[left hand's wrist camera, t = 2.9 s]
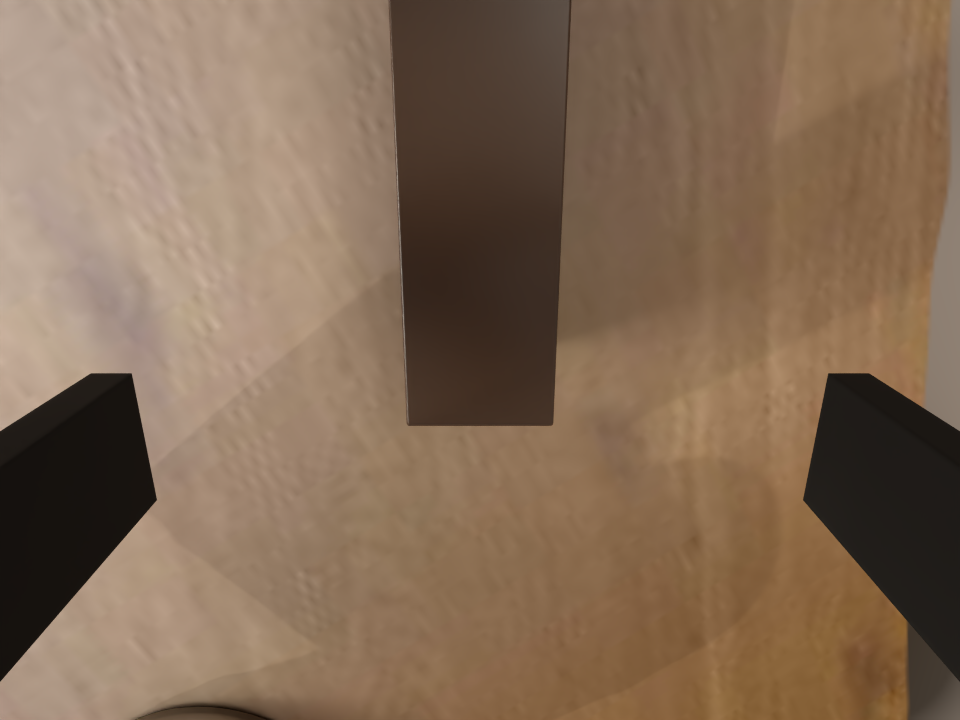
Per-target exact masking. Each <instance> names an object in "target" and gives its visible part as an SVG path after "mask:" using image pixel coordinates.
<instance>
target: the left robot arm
mask: <svg viewBox="0 0 960 720" xmlns="http://www.w3.org/2000/svg"><path fill="white" fill-rule="evenodd" d="M156 500H157V498H156V493H155V488H154V483H153V478H152V473H151V468H150V463H149V458H148V453H147V448H146V443H145V438H144V433H143V428H142V423H141V418H140V413H139V408H138V403H137V398H136V393H135V388H134V383H133V378H132V373H91V374H89V375H88V376H86V377H85V378H83V379H82V380H80V381H78V382H77V383H75V384H74V385H72V386H71V387H69V388H67V389H66V390H64V391H63V392H61V393H60V394H58V395H56V396H55V397H53V398H52V399H50V400H49V401H47V402H45V403H44V404H42V405H41V406H39V407H38V408H36V409H34V410H33V411H31V412H30V413H28V414H27V415H25V416H24V417H22V418H20V419H19V420H17V421H16V422H14V423H13V424H11V425H9V426H8V427H6V428H5V429H3V430H2V431H0V681H1V680H2V679H3V678H4V677H5V676H6V674H7V673H8V672H9V671H10V670H11V669H12V667H13V666H14V665H15V664H16V663H17V662H18V660H19V659H20V658H21V657H22V656H23V655H24V653H25V652H26V651H27V650H28V649H29V648H30V647H31V645H32V644H33V643H34V642H35V641H36V640H37V638H38V637H39V636H40V635H41V634H42V633H43V631H44V630H45V629H46V628H47V627H48V626H49V625H50V623H51V622H52V621H53V620H54V619H55V618H56V616H57V615H58V614H59V613H60V612H61V611H62V609H63V608H64V607H65V606H66V605H67V604H68V602H69V601H70V600H71V599H72V598H73V597H74V596H75V594H76V593H77V592H78V591H79V590H80V589H81V587H82V586H83V585H84V584H85V583H86V582H87V580H88V579H89V578H90V577H91V576H92V575H93V573H94V572H95V571H96V570H97V569H98V568H99V567H100V565H101V564H102V563H103V562H104V561H105V560H106V558H107V557H108V556H109V555H110V554H111V553H112V551H113V550H114V549H115V548H116V547H117V546H118V544H119V543H120V542H121V541H122V540H123V539H124V538H125V536H126V535H127V534H128V533H129V532H130V531H131V529H132V528H133V527H134V526H135V525H136V524H137V522H138V521H139V520H140V519H141V518H142V517H143V516H144V514H145V513H146V512H147V511H148V510H149V509H150V507H151V506H152V505H153V504H154V503H155V502H156ZM803 500H804V502H805V503H806V504H807V505H808V506H809V507H810V509H811V510H812V511H813V512H814V513H815V514H816V516H817V517H818V518H819V519H820V520H821V521H822V522H823V524H824V525H825V526H826V527H827V528H828V529H829V531H830V532H831V533H832V534H833V535H834V536H835V538H836V539H837V540H838V541H839V542H840V543H841V544H842V546H843V547H844V548H845V549H846V550H847V551H848V553H849V554H850V555H851V556H852V557H853V558H854V560H855V561H856V562H857V563H858V564H859V565H860V567H861V568H862V569H863V570H864V571H865V572H866V573H867V575H868V576H869V577H870V578H871V579H872V580H873V582H874V583H875V584H876V585H877V586H878V587H879V589H880V590H881V591H882V592H883V593H884V594H885V596H886V597H887V598H888V599H889V600H890V601H891V602H892V604H893V605H894V606H895V607H896V608H897V609H898V611H899V612H900V613H901V614H902V615H903V616H904V618H905V619H906V620H907V621H908V622H909V623H910V625H911V626H912V627H913V628H914V629H915V630H916V631H917V633H918V634H919V635H920V636H921V637H922V638H923V640H924V641H925V642H926V643H927V644H928V645H929V647H930V648H931V649H932V650H933V651H934V652H935V653H936V655H937V656H938V657H939V658H940V659H941V660H942V662H943V663H944V664H945V665H946V666H947V667H948V669H949V670H950V671H951V672H952V673H953V674H954V676H955V677H956V678H957V679H958V680H959V681H960V431H958V430H957V429H955V428H954V427H952V426H951V425H949V424H947V423H946V422H944V421H943V420H941V419H940V418H938V417H936V416H935V415H933V414H932V413H930V412H929V411H927V410H926V409H924V408H922V407H921V406H919V405H918V404H916V403H915V402H913V401H911V400H910V399H908V398H907V397H905V396H904V395H902V394H900V393H899V392H897V391H896V390H894V389H893V388H891V387H889V386H888V385H886V384H885V383H883V382H882V381H880V380H878V379H877V378H875V377H874V376H872V375H871V374H869V373H828V378H827V383H826V388H825V393H824V398H823V403H822V408H821V413H820V418H819V423H818V428H817V433H816V438H815V443H814V448H813V453H812V458H811V463H810V468H809V473H808V478H807V483H806V488H805V493H804V498H803ZM136 720H266V719H263V718H260V717H257V716H254V715H251V714H248V713H244V712H240V711H235V710H230V709H224V708H214V707H183V708H174V709H168V710H163V711H159V712H155V713H152V714H149V715H146V716H143V717H141V718H138V719H136Z"/></svg>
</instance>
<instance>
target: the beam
mask: <svg viewBox="0 0 960 720" xmlns="http://www.w3.org/2000/svg"><path fill="white" fill-rule="evenodd" d="M389 20H390V43H391V67H392V90H393V113H394V136H395V159H396V183H397V206H398V229H399V252H400V276H401V299H402V322H403V345H404V368H405V392H406V415H407V425H409V426H551V425H553V415H554V392H555V369H556V346H557V322H558V299H559V276H560V253H561V230H562V206H563V183H564V160H565V137H566V114H567V90H568V67H569V44H570V21H571V0H389Z"/></svg>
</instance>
